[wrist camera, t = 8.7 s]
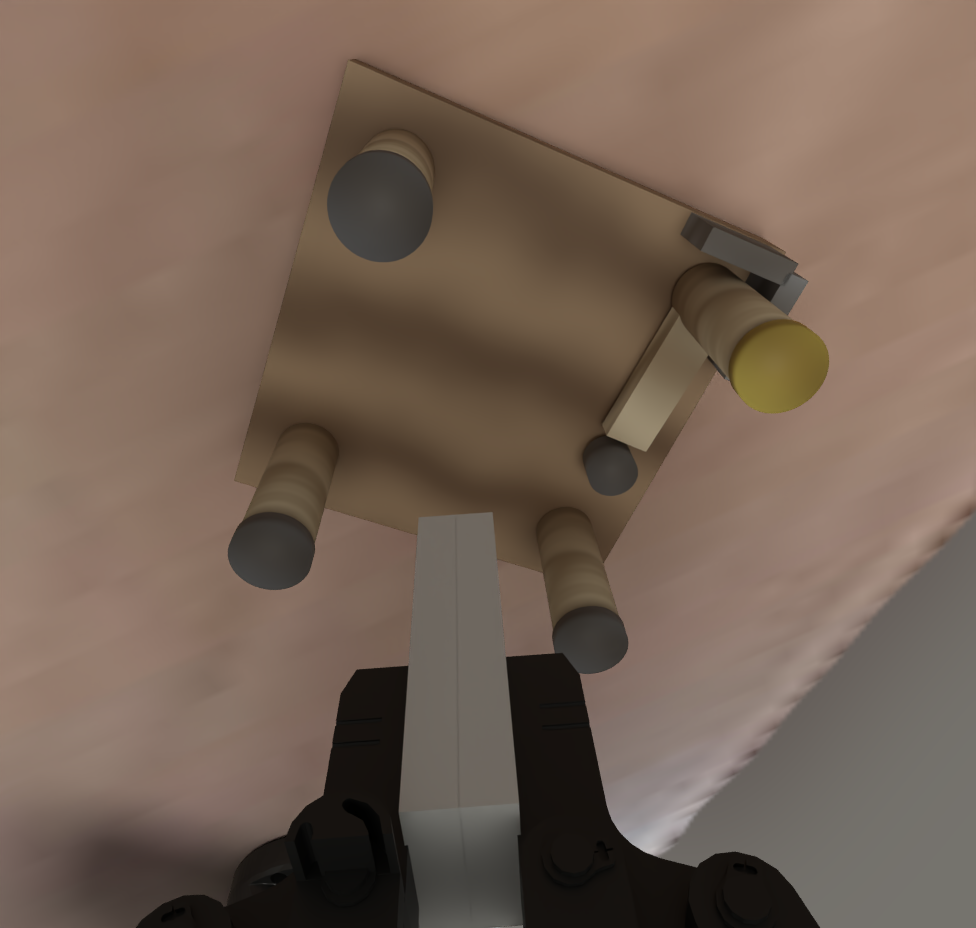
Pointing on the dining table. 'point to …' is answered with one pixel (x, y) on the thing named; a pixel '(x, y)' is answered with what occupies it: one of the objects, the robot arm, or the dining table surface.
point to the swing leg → (681, 352)
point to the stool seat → (471, 345)
